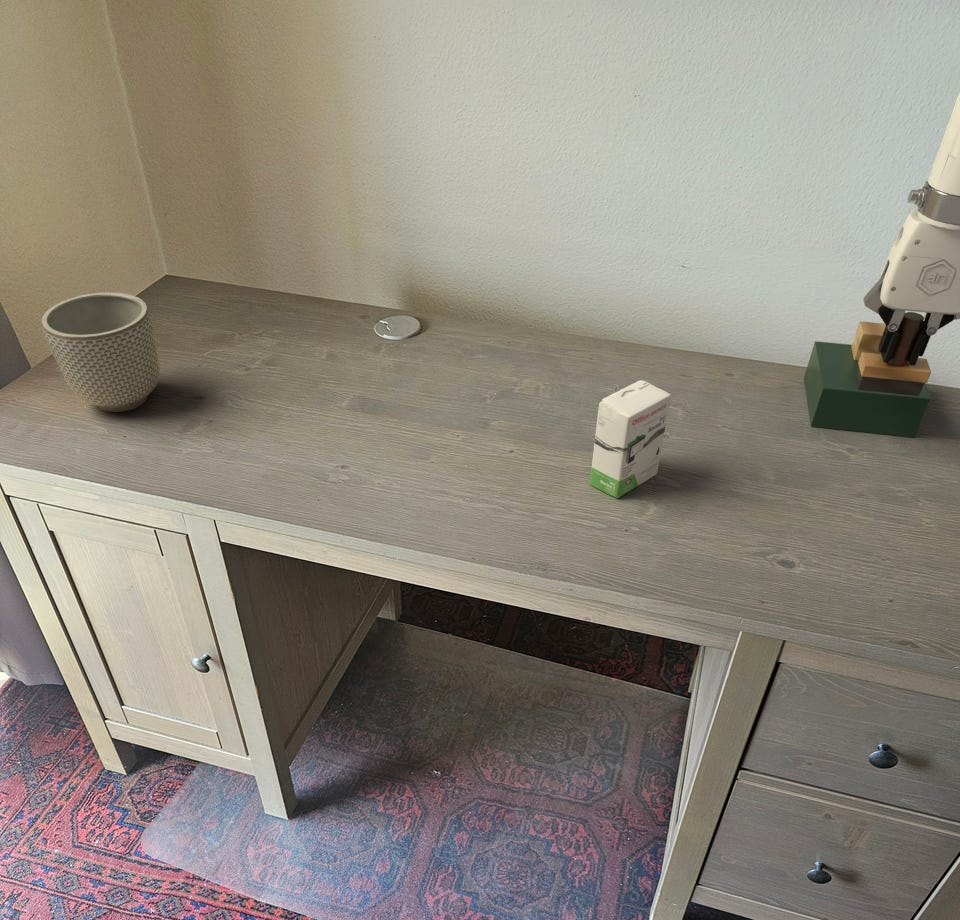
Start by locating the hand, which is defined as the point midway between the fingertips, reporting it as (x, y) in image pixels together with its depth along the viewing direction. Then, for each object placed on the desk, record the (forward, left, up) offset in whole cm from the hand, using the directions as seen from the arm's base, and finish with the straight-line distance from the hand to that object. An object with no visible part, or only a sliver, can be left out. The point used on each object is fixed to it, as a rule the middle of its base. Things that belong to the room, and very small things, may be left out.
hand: (897, 357), depth 109 cm
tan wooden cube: (0, -15, -7) cm, 16 cm away
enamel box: (0, -11, -13) cm, 17 cm away
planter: (+105, +9, -13) cm, 106 cm away
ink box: (+32, +14, -13) cm, 37 cm away
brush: (0, 0, -4) cm, 4 cm away
